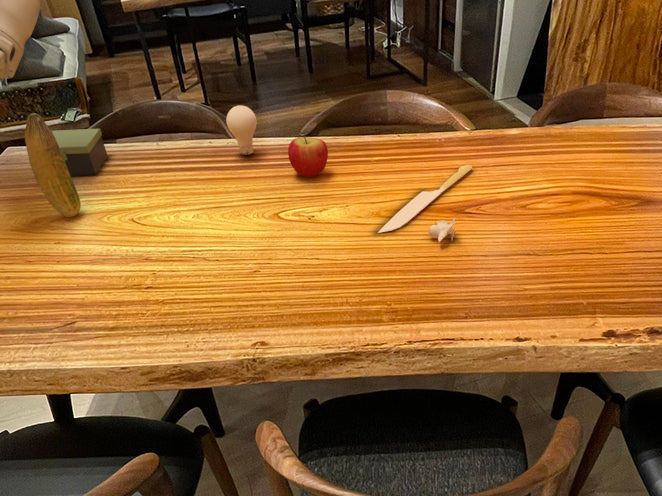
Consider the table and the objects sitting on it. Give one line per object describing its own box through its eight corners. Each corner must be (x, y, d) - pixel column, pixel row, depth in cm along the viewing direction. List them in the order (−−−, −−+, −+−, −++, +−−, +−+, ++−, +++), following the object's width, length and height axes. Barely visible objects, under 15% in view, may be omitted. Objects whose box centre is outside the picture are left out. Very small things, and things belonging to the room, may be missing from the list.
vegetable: (60, 226, 121) (18, 122, 108) (46, 216, 124) (3, 114, 111) (89, 215, 124) (51, 112, 111) (75, 205, 127) (36, 105, 114)
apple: (286, 170, 137) (280, 124, 130) (323, 163, 139) (319, 118, 132) (296, 185, 131) (290, 138, 125) (334, 178, 133) (330, 131, 127)
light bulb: (264, 158, 142) (257, 108, 135) (235, 163, 141) (226, 113, 133) (258, 147, 147) (250, 99, 140) (230, 152, 145) (221, 103, 138)
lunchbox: (39, 178, 138) (28, 149, 133) (56, 157, 146) (46, 130, 142) (95, 176, 138) (85, 147, 134) (109, 155, 146) (100, 127, 142)
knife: (369, 228, 116) (390, 232, 113) (457, 161, 136) (476, 163, 133) (370, 234, 117) (391, 238, 114) (457, 167, 136) (476, 169, 134)
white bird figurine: (425, 224, 116) (435, 202, 113) (448, 232, 117) (459, 210, 114) (426, 246, 110) (437, 223, 107) (450, 254, 111) (461, 232, 108)
